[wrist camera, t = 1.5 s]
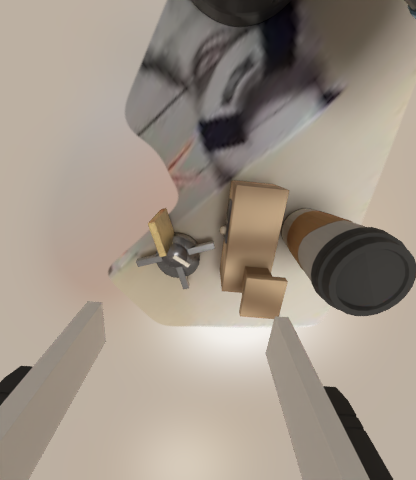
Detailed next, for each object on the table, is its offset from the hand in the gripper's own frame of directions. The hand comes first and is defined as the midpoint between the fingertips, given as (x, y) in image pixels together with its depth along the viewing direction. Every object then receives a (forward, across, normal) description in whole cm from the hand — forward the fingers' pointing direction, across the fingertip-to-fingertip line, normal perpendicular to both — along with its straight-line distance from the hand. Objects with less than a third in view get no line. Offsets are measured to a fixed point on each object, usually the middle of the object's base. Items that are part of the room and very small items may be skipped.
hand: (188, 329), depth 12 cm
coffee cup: (+22, +15, 0) cm, 26 cm away
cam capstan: (+22, -3, -4) cm, 22 cm away
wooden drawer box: (+22, +7, 0) cm, 23 cm away
